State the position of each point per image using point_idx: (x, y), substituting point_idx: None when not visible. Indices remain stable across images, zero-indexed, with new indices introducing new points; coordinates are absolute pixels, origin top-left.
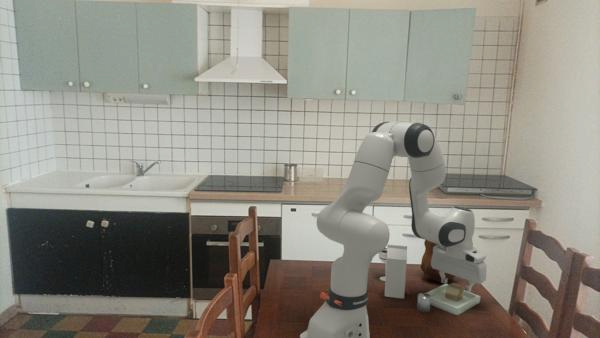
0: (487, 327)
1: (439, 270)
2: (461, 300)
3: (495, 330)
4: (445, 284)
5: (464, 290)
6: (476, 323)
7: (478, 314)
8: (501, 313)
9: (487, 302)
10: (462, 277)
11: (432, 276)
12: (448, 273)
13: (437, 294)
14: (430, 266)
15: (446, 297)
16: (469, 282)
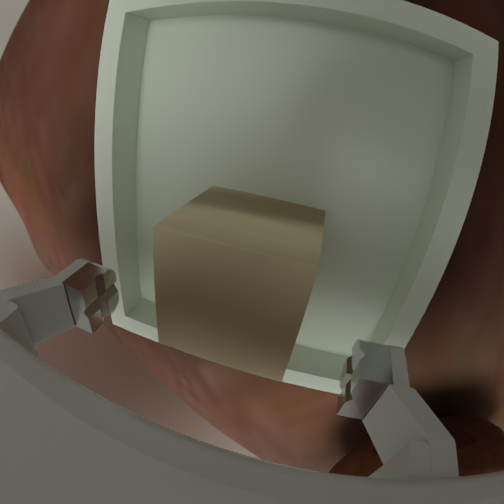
0: (23, 51)
1: (463, 476)
2: None
3: (6, 60)
4: None
5: None
6: (54, 35)
7: (73, 139)
8: (40, 237)
9: None
10: (11, 352)
11: (459, 427)
12: (279, 465)
13: (404, 231)
14: None
15: (313, 208)
16: (5, 308)
